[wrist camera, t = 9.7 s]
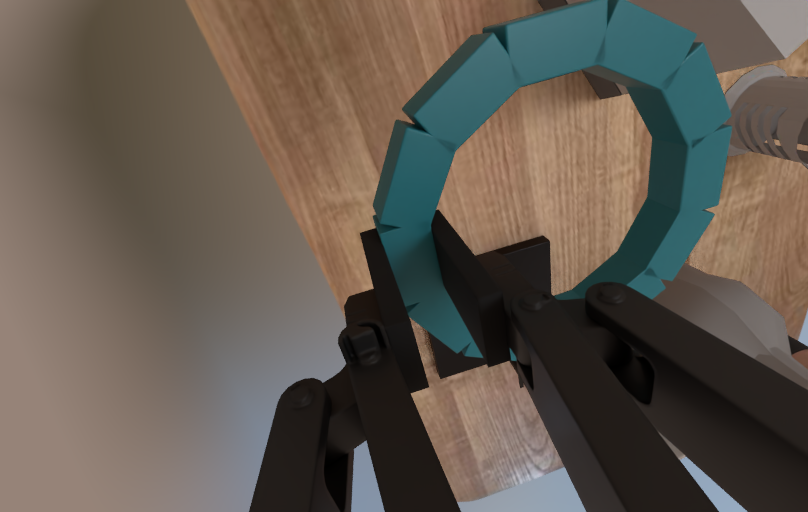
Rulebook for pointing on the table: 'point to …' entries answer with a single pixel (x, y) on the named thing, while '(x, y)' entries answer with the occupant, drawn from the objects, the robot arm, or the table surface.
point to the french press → (769, 114)
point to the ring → (538, 61)
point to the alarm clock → (724, 31)
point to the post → (536, 270)
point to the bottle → (733, 318)
